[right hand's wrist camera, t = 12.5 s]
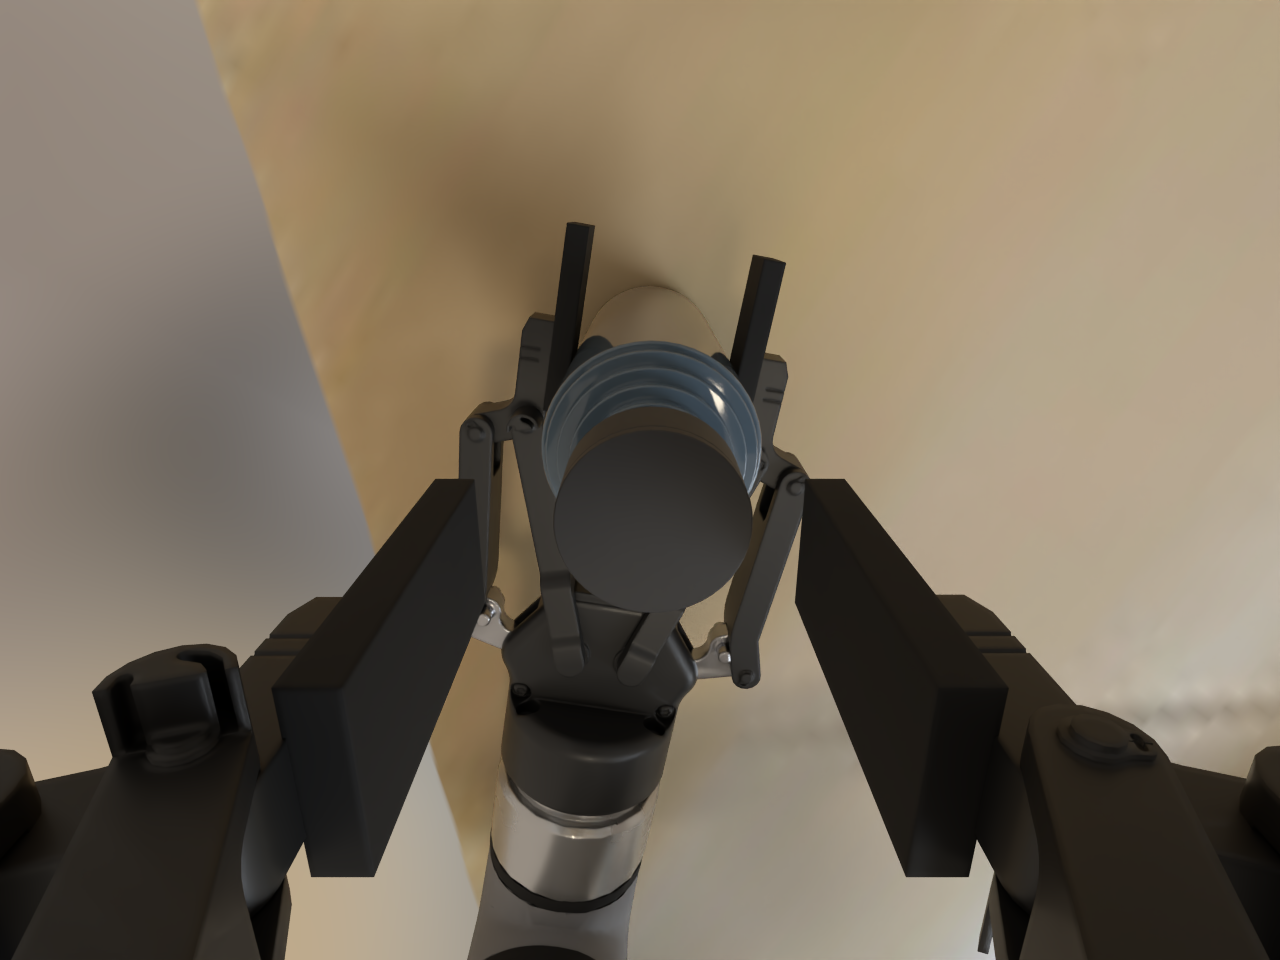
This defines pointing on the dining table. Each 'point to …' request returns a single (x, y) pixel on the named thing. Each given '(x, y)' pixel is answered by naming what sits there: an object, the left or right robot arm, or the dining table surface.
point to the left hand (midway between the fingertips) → (675, 242)
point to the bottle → (650, 378)
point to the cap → (652, 511)
